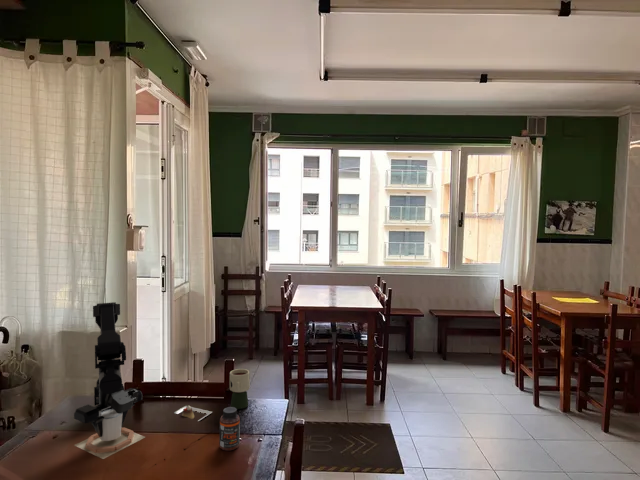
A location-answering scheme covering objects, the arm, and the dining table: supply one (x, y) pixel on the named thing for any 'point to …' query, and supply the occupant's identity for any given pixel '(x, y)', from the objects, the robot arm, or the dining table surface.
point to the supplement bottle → (229, 429)
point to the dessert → (191, 412)
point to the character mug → (239, 387)
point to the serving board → (109, 444)
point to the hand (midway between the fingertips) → (110, 432)
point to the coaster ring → (109, 448)
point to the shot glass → (111, 425)
